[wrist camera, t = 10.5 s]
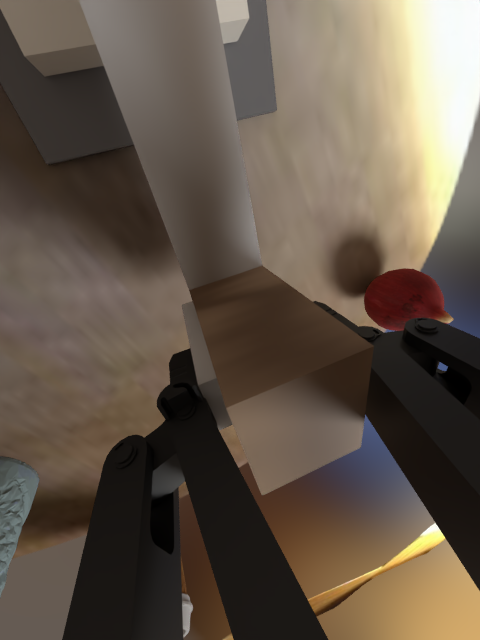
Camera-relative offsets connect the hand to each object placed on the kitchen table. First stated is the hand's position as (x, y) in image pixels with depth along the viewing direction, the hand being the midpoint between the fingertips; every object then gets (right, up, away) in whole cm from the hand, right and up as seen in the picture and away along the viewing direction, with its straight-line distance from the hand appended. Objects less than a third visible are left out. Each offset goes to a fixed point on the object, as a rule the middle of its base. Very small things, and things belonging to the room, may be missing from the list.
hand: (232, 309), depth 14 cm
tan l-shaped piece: (-2, +6, -4) cm, 7 cm away
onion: (+14, +3, +11) cm, 18 cm away
